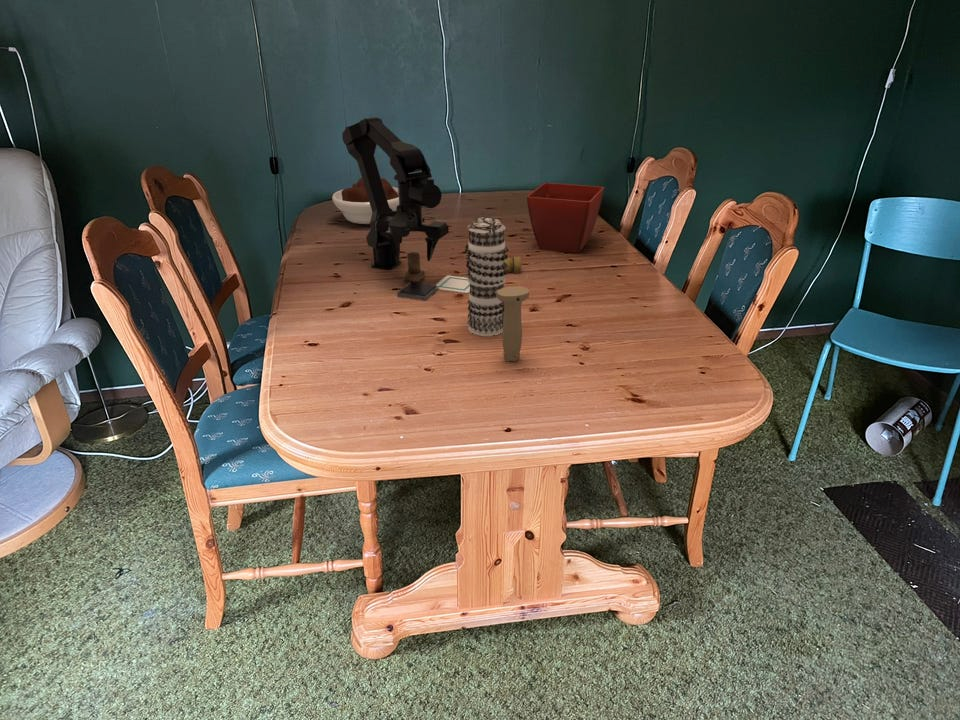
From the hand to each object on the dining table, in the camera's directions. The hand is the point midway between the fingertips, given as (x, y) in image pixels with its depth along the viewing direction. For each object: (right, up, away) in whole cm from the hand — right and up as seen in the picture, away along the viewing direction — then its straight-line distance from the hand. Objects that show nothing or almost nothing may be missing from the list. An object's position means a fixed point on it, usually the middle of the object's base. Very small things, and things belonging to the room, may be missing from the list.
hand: (413, 258), depth 171 cm
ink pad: (+2, -10, -5) cm, 11 cm away
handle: (+24, -27, -38) cm, 52 cm away
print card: (+12, -7, 0) cm, 14 cm away
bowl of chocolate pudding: (-20, +22, +54) cm, 62 cm away
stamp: (0, -5, +3) cm, 6 cm away
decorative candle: (+19, -20, -25) cm, 37 cm away
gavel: (+24, +1, +16) cm, 29 cm away
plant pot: (+44, +8, +29) cm, 53 cm away
